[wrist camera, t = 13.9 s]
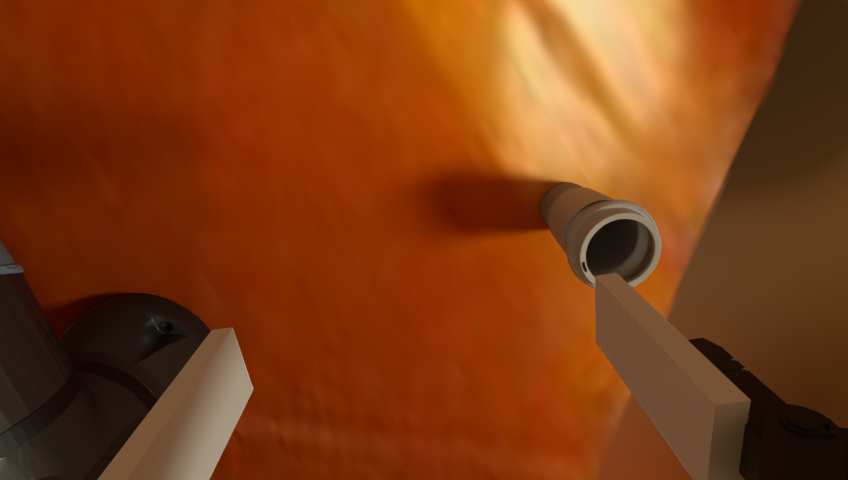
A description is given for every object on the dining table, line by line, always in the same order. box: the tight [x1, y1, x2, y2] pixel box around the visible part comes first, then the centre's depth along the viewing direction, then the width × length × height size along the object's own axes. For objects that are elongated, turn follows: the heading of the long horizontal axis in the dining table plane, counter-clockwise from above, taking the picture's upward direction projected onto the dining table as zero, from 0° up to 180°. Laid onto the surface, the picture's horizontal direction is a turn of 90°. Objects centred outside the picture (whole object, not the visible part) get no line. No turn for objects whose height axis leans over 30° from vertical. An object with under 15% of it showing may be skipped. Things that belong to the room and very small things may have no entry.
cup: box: [541, 183, 662, 288], centre depth 37 cm, size 7×7×12 cm
